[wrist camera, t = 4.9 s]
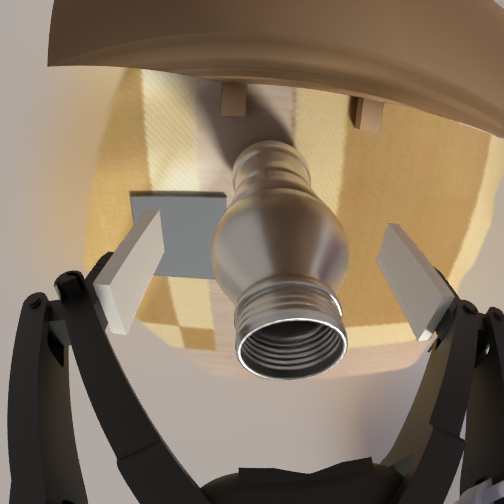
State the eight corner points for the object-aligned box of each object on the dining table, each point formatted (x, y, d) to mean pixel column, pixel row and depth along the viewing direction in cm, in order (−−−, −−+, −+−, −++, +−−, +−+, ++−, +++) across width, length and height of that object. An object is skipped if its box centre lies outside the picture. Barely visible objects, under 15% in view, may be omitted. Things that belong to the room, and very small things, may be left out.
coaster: (132, 194, 27) (130, 196, 26) (226, 196, 27) (226, 198, 26) (145, 271, 32) (144, 274, 32) (226, 277, 32) (225, 280, 32)
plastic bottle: (280, 212, 28) (308, 408, 11) (221, 178, 26) (161, 365, 9) (319, 161, 24) (426, 325, 8) (257, 121, 23) (258, 228, 6)
